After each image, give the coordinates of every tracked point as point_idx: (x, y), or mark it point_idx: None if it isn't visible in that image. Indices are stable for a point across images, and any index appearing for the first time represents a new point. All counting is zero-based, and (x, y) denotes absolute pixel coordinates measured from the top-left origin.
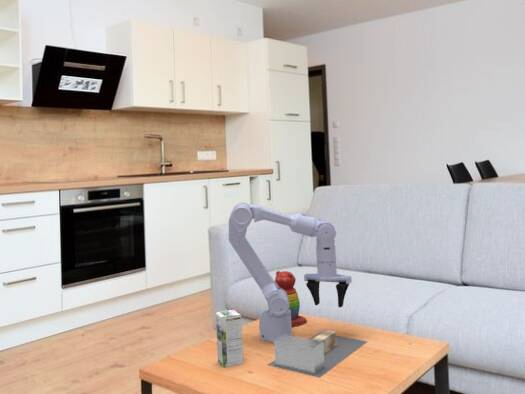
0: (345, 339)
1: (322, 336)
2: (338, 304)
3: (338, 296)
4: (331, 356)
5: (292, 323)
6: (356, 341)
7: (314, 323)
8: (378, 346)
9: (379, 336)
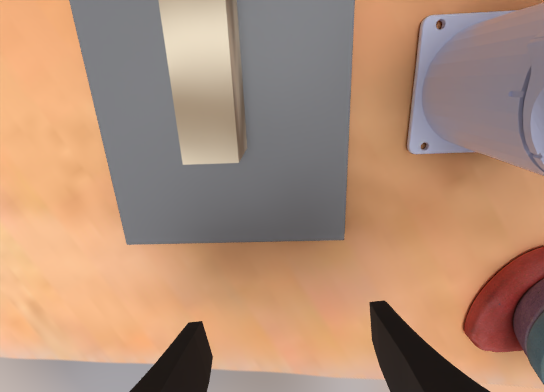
0: (209, 223)
1: (197, 55)
2: (191, 333)
3: (157, 388)
4: (138, 11)
5: (511, 278)
6: (160, 224)
7: (428, 334)
8: (95, 241)
9: (150, 320)
